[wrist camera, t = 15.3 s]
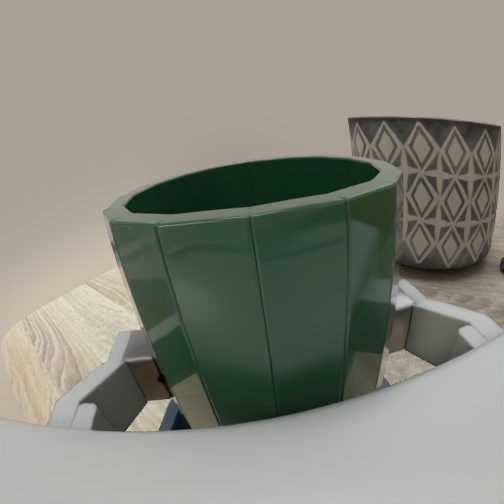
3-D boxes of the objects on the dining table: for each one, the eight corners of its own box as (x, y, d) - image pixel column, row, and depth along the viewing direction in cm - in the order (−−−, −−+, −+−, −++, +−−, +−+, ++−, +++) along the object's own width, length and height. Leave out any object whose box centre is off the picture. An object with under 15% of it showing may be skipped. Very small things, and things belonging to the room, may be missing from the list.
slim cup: (269, 539, 7) (144, 272, 3) (191, 438, 13) (93, 199, 8) (389, 445, 10) (447, 165, 6) (296, 377, 16) (274, 153, 11)
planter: (515, 263, 26) (528, 130, 20) (403, 302, 25) (409, 115, 18) (433, 216, 44) (432, 119, 37) (333, 233, 43) (324, 118, 36)
